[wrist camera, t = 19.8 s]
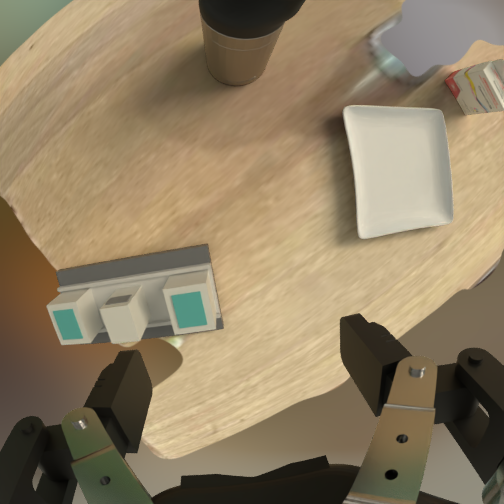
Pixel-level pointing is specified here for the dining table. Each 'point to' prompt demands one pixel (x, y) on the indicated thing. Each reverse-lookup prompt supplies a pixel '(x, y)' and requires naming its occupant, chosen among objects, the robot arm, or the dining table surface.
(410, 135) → the salad plate
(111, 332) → the loose module
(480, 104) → the ink cartridge box
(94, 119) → the dining table surface
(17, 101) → the dining table surface
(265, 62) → the robot arm
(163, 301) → the board
